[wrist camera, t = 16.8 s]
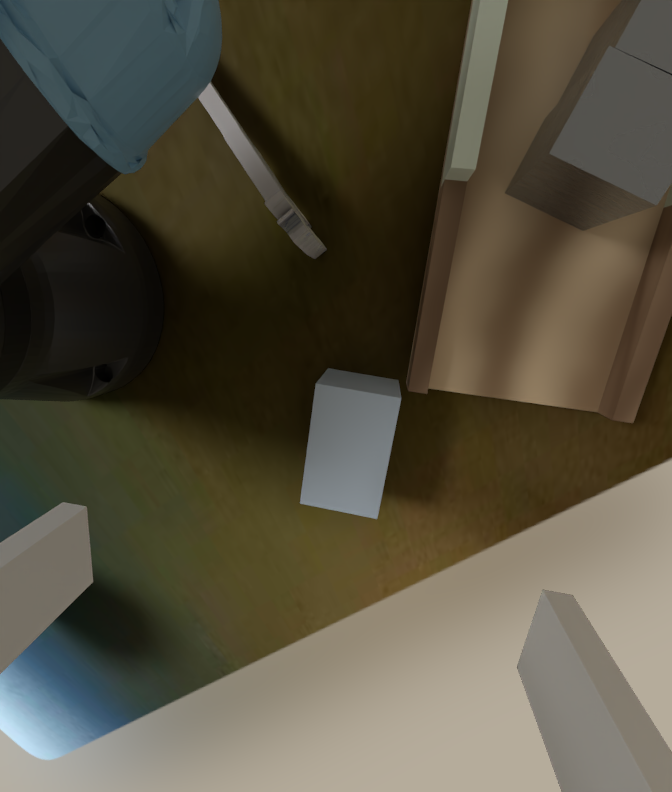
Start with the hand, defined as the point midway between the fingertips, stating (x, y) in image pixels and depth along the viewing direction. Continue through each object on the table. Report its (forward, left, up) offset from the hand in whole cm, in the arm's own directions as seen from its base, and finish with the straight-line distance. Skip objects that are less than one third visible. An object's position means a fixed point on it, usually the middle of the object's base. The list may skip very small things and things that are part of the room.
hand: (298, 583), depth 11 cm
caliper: (-10, +18, -17) cm, 27 cm away
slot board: (+10, +15, -17) cm, 24 cm away
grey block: (0, -5, -14) cm, 15 cm away
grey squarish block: (+10, +16, -16) cm, 25 cm away
